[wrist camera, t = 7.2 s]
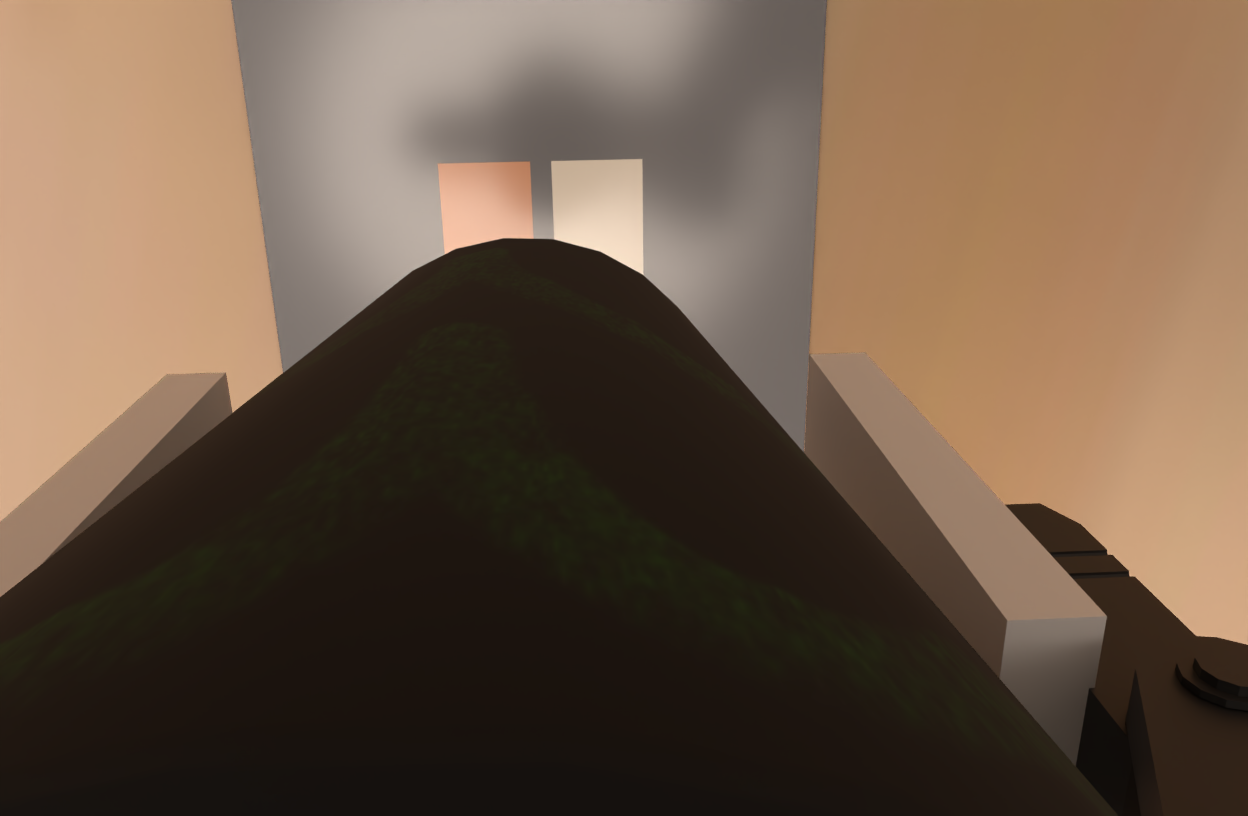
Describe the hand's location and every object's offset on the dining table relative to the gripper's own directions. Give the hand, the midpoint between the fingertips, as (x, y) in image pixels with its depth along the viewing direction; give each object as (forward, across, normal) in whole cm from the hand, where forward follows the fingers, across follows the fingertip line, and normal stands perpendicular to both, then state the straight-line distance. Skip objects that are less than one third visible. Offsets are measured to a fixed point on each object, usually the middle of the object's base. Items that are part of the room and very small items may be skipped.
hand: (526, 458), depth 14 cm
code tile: (+17, 0, 0) cm, 17 cm away
